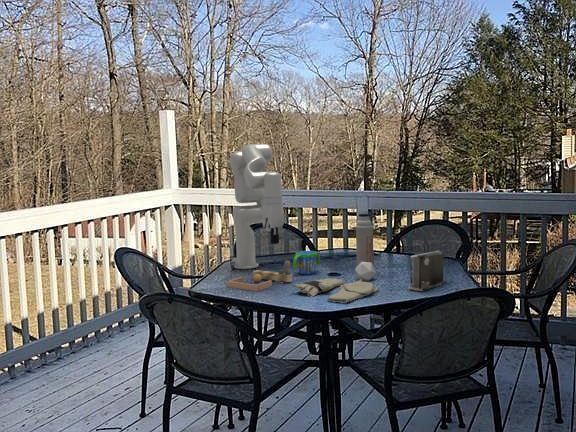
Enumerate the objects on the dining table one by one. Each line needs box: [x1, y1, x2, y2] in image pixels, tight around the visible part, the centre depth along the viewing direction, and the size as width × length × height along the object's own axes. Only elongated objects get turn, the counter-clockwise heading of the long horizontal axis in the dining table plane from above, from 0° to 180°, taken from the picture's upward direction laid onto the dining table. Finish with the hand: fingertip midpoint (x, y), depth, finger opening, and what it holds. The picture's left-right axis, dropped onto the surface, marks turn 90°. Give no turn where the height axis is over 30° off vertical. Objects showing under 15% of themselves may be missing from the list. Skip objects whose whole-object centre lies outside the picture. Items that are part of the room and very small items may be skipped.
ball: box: [253, 274, 262, 283], centre depth 259 cm, size 4×4×4 cm
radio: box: [407, 250, 445, 292], centre depth 239 cm, size 23×9×15 cm, turn 132°
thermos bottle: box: [355, 213, 375, 268], centre depth 267 cm, size 8×8×28 cm
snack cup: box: [292, 250, 321, 275], centre depth 272 cm, size 16×10×10 cm
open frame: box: [226, 276, 273, 292], centre depth 251 cm, size 17×10×2 cm, turn 56°
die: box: [354, 262, 377, 282], centre depth 255 cm, size 8×9×10 cm
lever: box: [252, 260, 294, 283], centre depth 259 cm, size 20×3×9 cm, turn 56°
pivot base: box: [274, 280, 288, 284], centre depth 257 cm, size 6×6×1 cm
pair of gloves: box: [292, 278, 379, 304], centre depth 234 cm, size 30×26×5 cm
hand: (274, 243), depth 247 cm, fingers closed
